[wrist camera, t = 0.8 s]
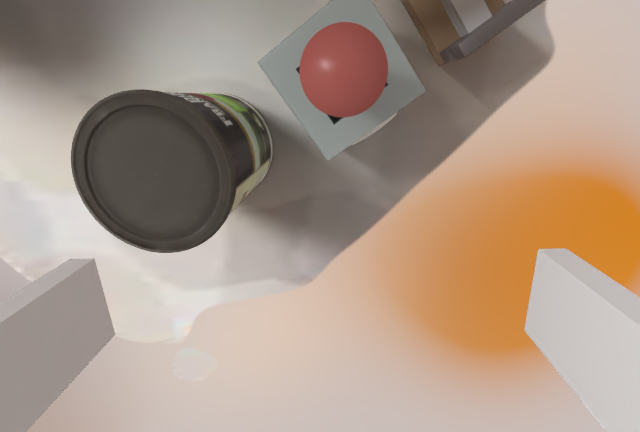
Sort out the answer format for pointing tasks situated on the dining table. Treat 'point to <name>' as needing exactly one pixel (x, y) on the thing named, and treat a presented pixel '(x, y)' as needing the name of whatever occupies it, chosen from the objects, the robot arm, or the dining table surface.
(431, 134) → the dining table surface
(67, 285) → the robot arm
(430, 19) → the guide rail
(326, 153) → the gray socket box
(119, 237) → the coffee can
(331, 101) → the plunger
